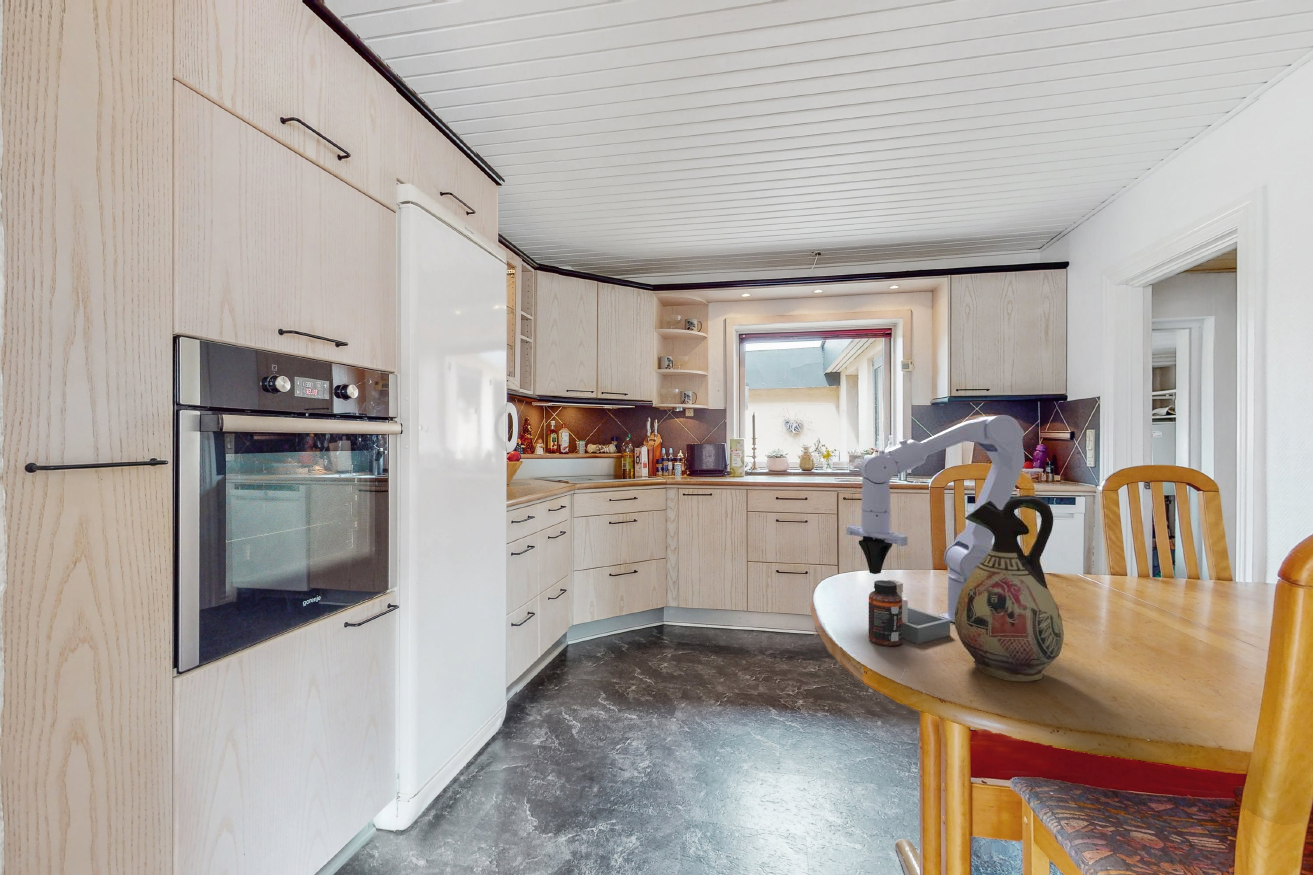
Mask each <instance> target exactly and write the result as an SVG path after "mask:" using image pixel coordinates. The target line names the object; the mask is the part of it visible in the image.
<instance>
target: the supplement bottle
mask: <svg viewBox="0 0 1313 875" xmlns="http://www.w3.org/2000/svg"><path fill="white" fill-rule="evenodd" d="M873 589H874V590H872V591H871V592H870V593H869V594H868V632H867V633H868V639H869V641H871V642H873V643H874V644H876V645H880V646H881V645H882V646H884V647H885V646H886V647H895V646H899V645H901V643H902V641H903V640H902V639H903V638H902V598H901V596H900V595H899V594H898V593H897V584H896V583H895V582H892V581H887V580H885V579H883V580H882V579H881V580H880V579H878V580H875V581H874V582H873Z"/></svg>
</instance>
